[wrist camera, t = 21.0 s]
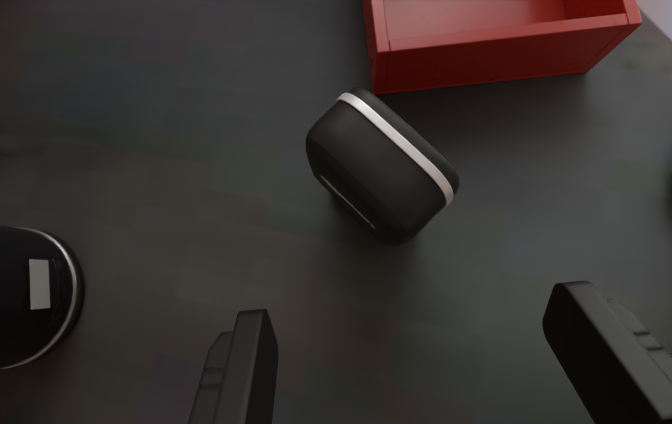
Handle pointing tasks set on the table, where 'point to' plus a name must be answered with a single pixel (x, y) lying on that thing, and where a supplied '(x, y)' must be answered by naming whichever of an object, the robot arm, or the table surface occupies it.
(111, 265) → the table surface
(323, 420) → the table surface
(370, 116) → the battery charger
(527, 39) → the open red box
